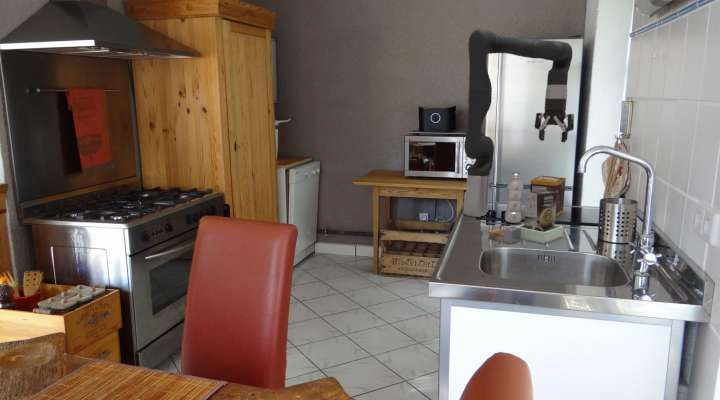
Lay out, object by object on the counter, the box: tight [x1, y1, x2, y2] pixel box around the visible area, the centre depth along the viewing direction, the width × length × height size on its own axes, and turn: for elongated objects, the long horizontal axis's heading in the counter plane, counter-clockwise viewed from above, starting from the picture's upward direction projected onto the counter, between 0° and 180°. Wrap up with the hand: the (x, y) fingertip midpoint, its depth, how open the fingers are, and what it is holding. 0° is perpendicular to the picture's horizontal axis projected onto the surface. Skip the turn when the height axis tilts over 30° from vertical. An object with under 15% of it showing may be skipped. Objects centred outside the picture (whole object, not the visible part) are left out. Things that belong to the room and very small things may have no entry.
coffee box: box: [523, 190, 557, 232], centre depth 189 cm, size 9×6×16 cm
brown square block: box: [488, 228, 505, 243], centre depth 189 cm, size 6×6×3 cm
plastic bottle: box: [504, 172, 524, 224], centre depth 211 cm, size 6×7×20 cm
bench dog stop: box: [502, 226, 521, 245], centre depth 185 cm, size 3×6×4 cm, turn 134°
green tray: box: [515, 223, 564, 245], centre depth 191 cm, size 12×14×4 cm
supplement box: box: [529, 175, 567, 218], centre depth 227 cm, size 10×15×16 cm
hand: (552, 141), depth 200 cm, fingers open, 8 cm apart
